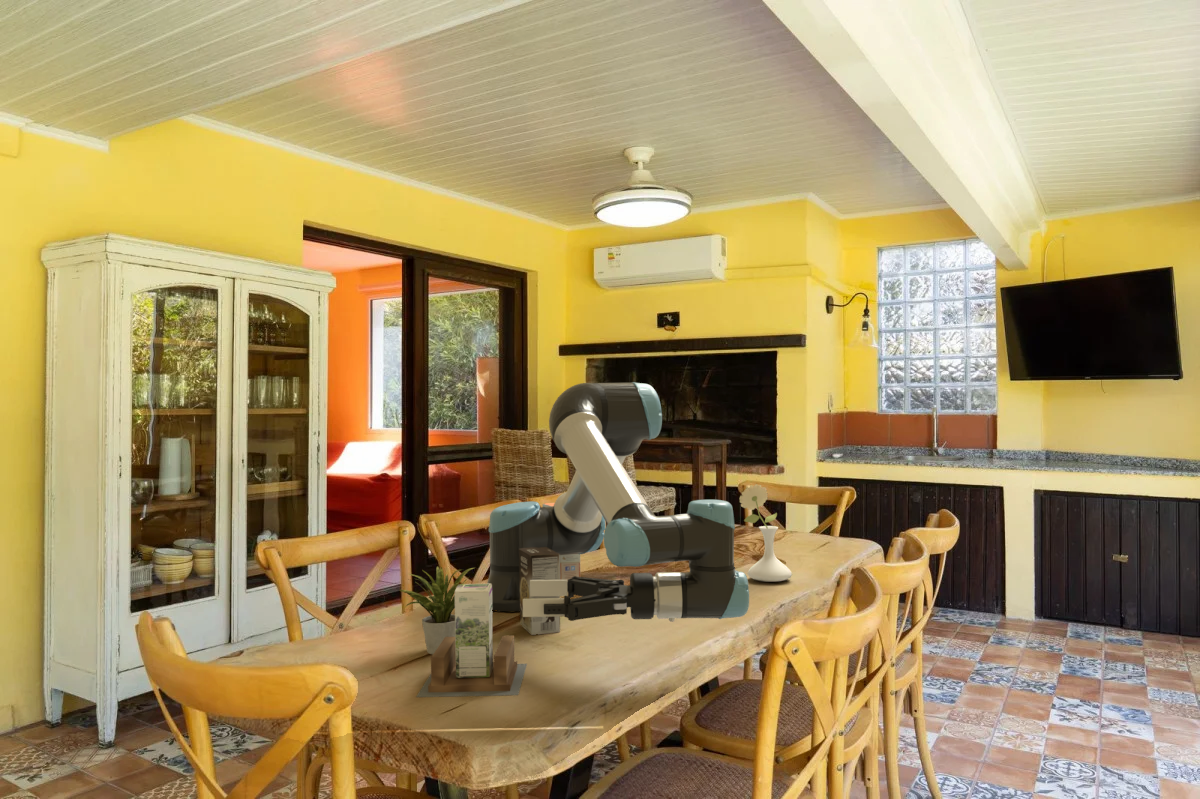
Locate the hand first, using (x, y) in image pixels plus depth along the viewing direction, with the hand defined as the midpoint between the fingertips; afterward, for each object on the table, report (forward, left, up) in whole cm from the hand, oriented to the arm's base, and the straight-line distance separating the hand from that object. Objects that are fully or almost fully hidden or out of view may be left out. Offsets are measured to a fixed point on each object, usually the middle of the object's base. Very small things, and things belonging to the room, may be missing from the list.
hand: (526, 597), depth 135 cm
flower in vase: (-93, -14, -14) cm, 95 cm away
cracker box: (-54, -50, -14) cm, 75 cm away
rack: (+6, -6, -13) cm, 16 cm away
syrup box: (+6, -6, -13) cm, 15 cm away
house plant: (-1, -25, -14) cm, 29 cm away
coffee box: (-23, -23, -14) cm, 36 cm away
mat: (+6, -6, -14) cm, 16 cm away
